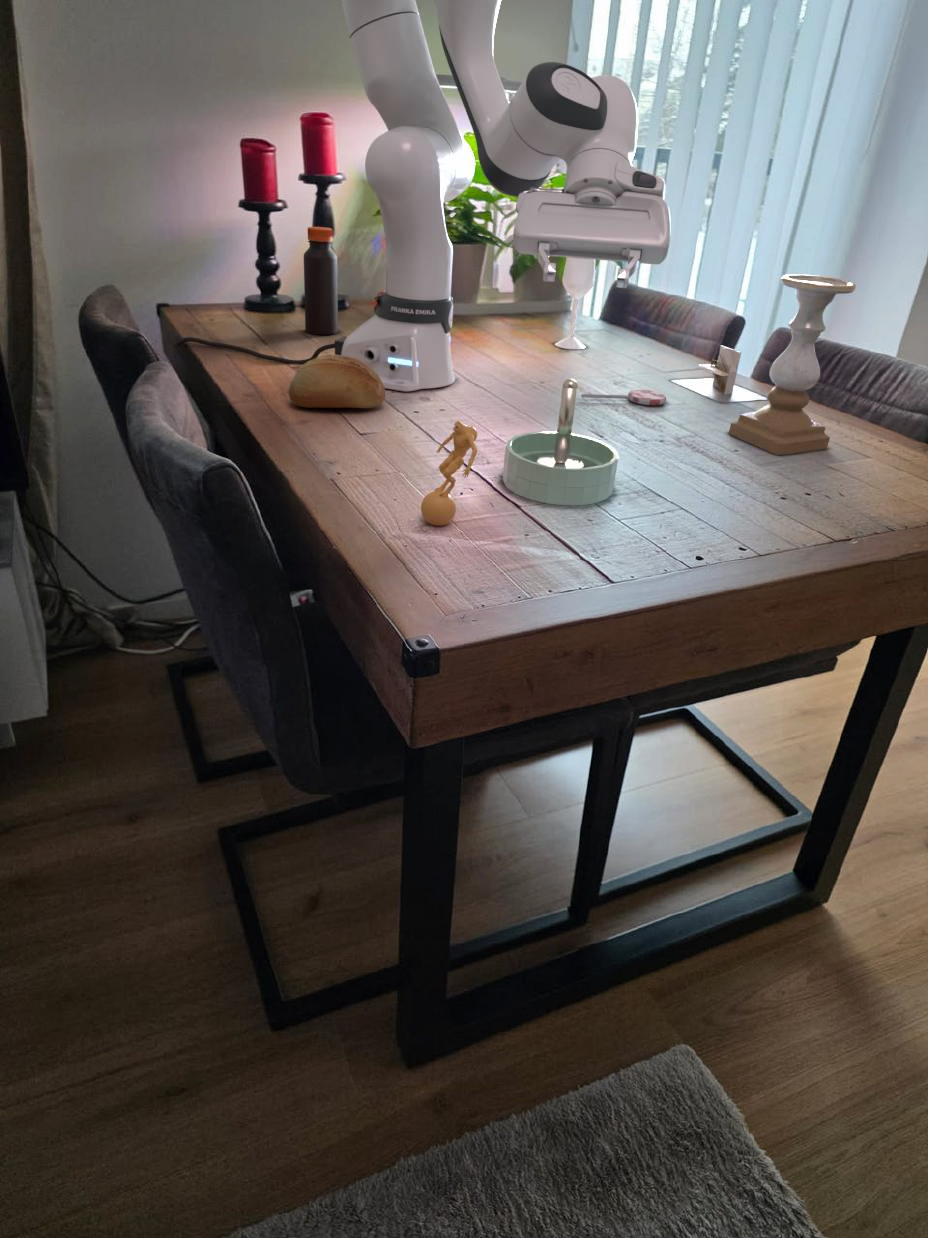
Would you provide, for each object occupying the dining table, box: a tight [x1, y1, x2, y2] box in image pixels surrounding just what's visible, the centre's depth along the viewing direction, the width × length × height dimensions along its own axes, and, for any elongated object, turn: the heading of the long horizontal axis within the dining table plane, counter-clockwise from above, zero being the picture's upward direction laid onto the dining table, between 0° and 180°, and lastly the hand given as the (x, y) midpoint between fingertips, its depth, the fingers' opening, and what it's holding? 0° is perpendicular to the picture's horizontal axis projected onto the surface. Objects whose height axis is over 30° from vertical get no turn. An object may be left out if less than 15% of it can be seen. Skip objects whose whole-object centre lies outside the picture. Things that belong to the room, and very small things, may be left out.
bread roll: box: [288, 354, 386, 409], centre depth 132 cm, size 10×15×8 cm, turn 97°
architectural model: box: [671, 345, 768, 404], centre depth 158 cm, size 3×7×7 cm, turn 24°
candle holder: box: [728, 274, 857, 456], centre depth 128 cm, size 11×11×24 cm
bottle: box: [303, 226, 339, 336], centre depth 175 cm, size 7×7×20 cm
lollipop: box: [581, 389, 667, 406], centre depth 148 cm, size 7×1×15 cm
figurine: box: [420, 420, 478, 527], centre depth 95 cm, size 8×6×12 cm
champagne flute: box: [554, 257, 596, 350], centre depth 178 cm, size 7×7×24 cm
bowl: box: [502, 431, 619, 507], centre depth 110 cm, size 14×14×5 cm
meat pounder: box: [537, 378, 584, 468], centre depth 107 cm, size 6×6×14 cm
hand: (585, 281), depth 110 cm, fingers open, 8 cm apart
